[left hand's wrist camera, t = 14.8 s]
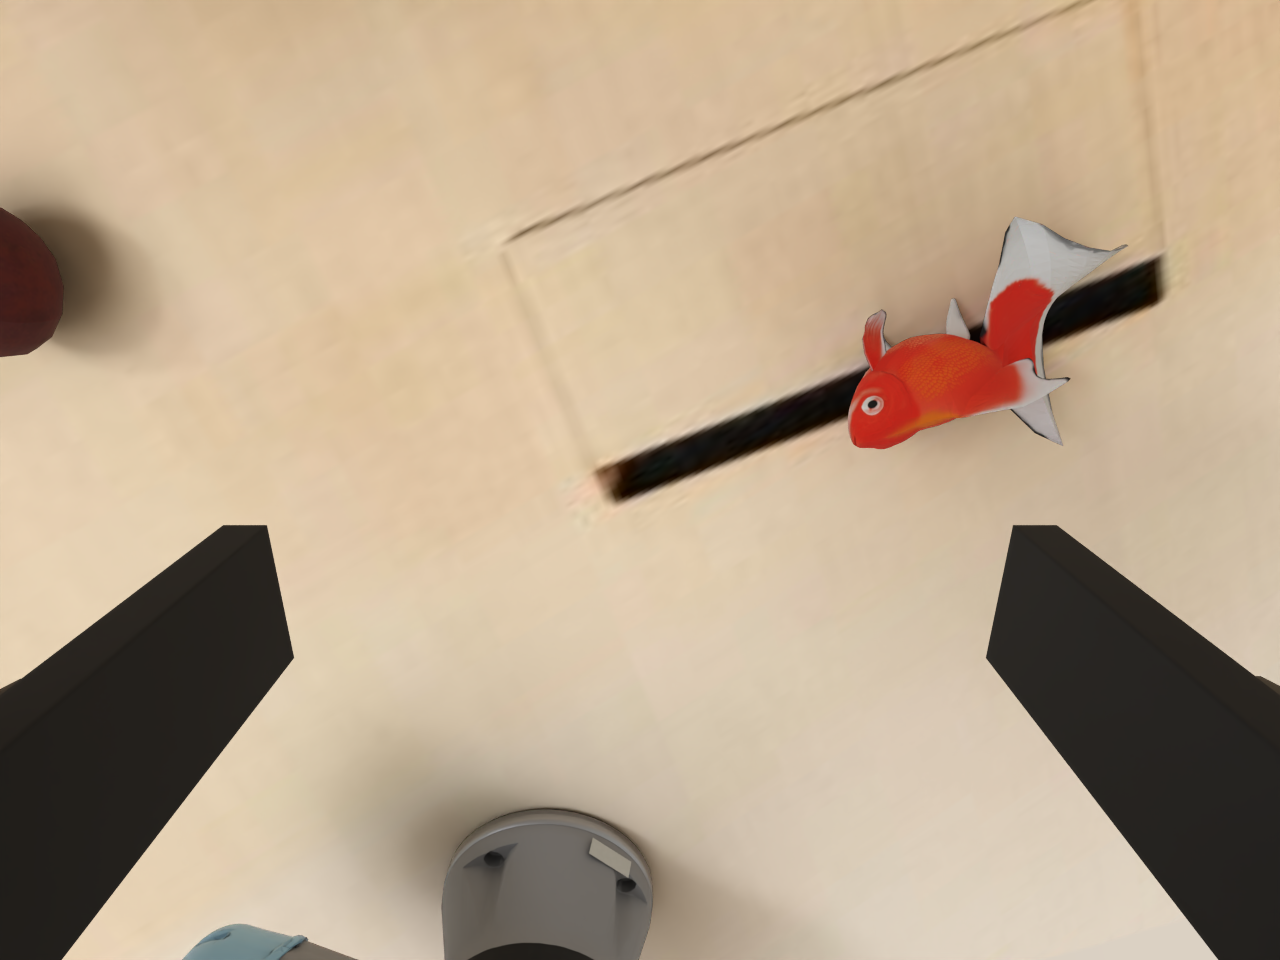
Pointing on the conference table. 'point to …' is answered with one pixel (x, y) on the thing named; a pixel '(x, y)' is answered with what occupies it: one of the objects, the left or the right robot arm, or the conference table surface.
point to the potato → (26, 288)
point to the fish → (974, 349)
